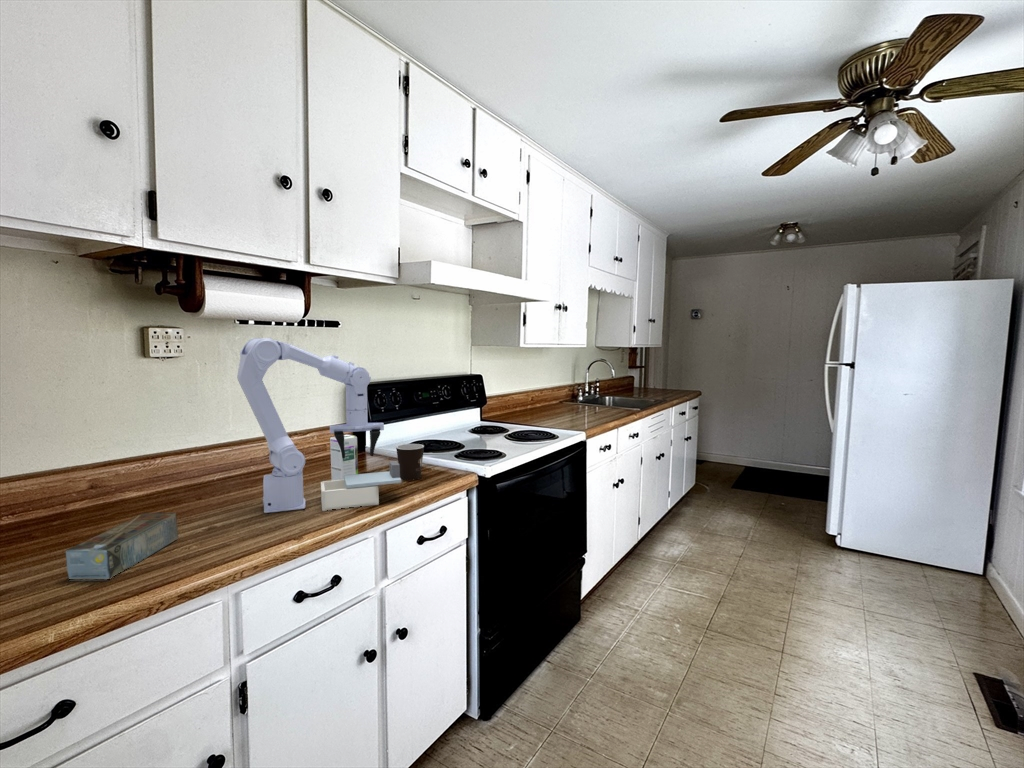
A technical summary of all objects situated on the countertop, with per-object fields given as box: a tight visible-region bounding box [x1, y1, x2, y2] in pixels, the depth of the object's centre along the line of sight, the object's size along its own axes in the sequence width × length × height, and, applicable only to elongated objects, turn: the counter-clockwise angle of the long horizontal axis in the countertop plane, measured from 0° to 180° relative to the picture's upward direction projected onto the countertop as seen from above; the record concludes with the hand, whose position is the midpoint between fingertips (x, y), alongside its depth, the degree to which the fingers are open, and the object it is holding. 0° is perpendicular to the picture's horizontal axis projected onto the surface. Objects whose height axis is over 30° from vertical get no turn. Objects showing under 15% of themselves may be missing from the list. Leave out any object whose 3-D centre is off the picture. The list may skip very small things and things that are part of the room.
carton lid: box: [344, 460, 402, 488], centre depth 133 cm, size 14×10×4 cm
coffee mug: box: [395, 443, 425, 481], centre depth 157 cm, size 12×9×10 cm
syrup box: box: [329, 434, 359, 481], centre depth 148 cm, size 6×6×14 cm
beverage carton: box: [65, 512, 179, 580], centre depth 97 cm, size 8×19×7 cm, turn 0°
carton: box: [320, 479, 380, 512], centre depth 131 cm, size 14×10×5 cm
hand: (357, 456), depth 139 cm, fingers open, 7 cm apart
